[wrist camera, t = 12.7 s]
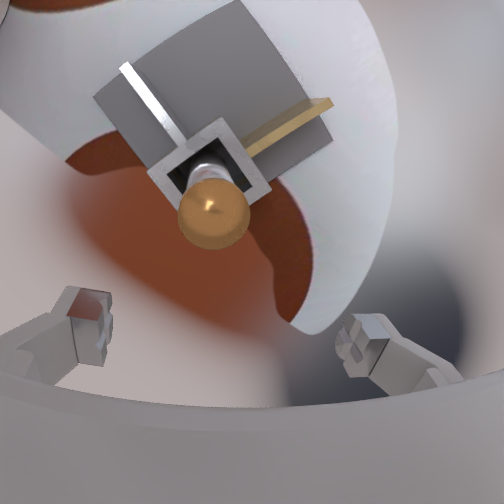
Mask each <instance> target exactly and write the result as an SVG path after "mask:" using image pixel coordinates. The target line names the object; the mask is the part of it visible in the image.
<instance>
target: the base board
mask: <svg viewBox="0 0 504 504" xmlns="http://www.w3.org/2000/svg"><path fill="white" fill-rule="evenodd" d="M132 65H133V66H135V67H136V68H138V69H139V70H141V71H142V72H143V73H144V74H145V76H146V77H147V78H148V80H149V81H150V82H151V84H152V85H153V86H154V88H155V89H156V90H157V92H158V93H159V94H160V96H161V97H162V98H163V100H164V101H165V102H166V104H167V105H168V106H169V107H170V109H171V110H172V111H173V113H174V114H175V116H176V117H177V118H178V120H179V121H180V122H181V124H182V125H183V126H184V128H185V129H186V130H187V132H188V133H189V134H190V135H191V134H192V133H194V132H195V131H196V130H198V129H199V128H201V127H202V126H204V125H205V124H206V123H208V122H209V121H211V120H212V119H214V118H215V117H217V116H221V117H222V118H223V119H224V120H225V122H226V123H227V125H228V126H229V128H230V129H231V130H232V132H233V133H234V135H235V136H236V138H237V139H238V140H240V139H241V138H243V137H244V136H246V135H247V134H249V133H250V132H252V131H253V130H255V129H257V128H258V127H260V126H261V125H263V124H264V123H266V122H267V121H269V120H271V119H272V118H274V117H275V116H277V115H279V114H280V113H282V112H284V111H285V110H287V109H288V108H290V107H292V106H293V105H295V104H297V103H299V102H300V101H302V100H304V99H309V98H308V96H307V94H306V93H305V91H304V90H303V88H302V86H301V85H300V83H299V82H298V80H297V79H296V77H295V76H294V74H293V72H292V71H291V69H290V68H289V66H288V65H287V63H286V62H285V61H284V59H283V58H282V56H281V55H280V53H279V52H278V50H277V49H276V47H275V46H274V45H273V43H272V42H271V40H270V39H269V38H268V36H267V35H266V34H265V32H264V31H263V29H262V28H261V27H260V25H259V24H258V23H257V21H256V20H255V19H254V17H253V16H252V15H251V14H250V12H249V11H248V10H247V8H246V7H245V6H244V5H243V3H242V2H241V1H240V0H234V1H232V2H231V3H229V4H227V5H225V6H223V7H221V8H219V9H217V10H215V11H213V12H212V13H210V14H208V15H206V16H205V17H203V18H201V19H199V20H198V21H196V22H194V23H193V24H191V25H189V26H188V27H186V28H184V29H183V30H181V31H180V32H178V33H176V34H175V35H173V36H172V37H170V38H169V39H167V40H166V41H164V42H163V43H161V44H160V45H158V46H157V47H155V48H154V49H153V50H151V51H150V52H148V53H147V54H146V55H144V56H143V57H141V58H140V59H139V60H137V61H136V62H135V63H133V64H132ZM93 98H94V99H95V101H96V102H97V103H98V105H99V106H100V107H101V109H102V110H103V111H104V113H105V114H106V115H107V117H108V118H109V119H110V121H111V122H112V123H113V125H114V126H115V127H116V128H117V130H118V131H119V132H120V134H121V135H122V136H123V138H124V139H125V140H126V142H127V143H128V144H129V145H130V147H131V148H132V149H133V151H134V152H135V153H136V155H137V156H138V157H139V158H140V160H141V161H142V162H143V164H144V165H145V166H146V167H147V169H149V168H150V167H151V166H152V165H153V164H154V163H155V162H156V160H157V159H159V158H160V157H161V156H163V155H164V154H165V153H166V152H168V151H169V150H170V149H172V148H173V147H174V146H176V145H177V144H176V143H175V142H174V140H173V139H172V138H171V136H170V135H169V134H168V132H167V131H166V130H165V128H164V127H163V126H162V124H161V123H160V122H159V121H158V119H157V118H156V117H155V115H154V114H153V113H152V111H151V110H150V109H149V107H148V106H147V105H146V103H145V102H144V101H143V99H142V98H141V97H140V95H139V94H138V93H137V91H136V90H135V89H134V87H133V86H132V85H131V84H130V82H129V81H128V80H127V78H126V77H125V76H124V74H123V73H121V74H119V75H118V76H117V77H116V78H114V79H113V80H112V81H111V82H110V83H108V84H107V85H106V86H105V87H104V88H102V89H101V90H100V91H99V92H98V93H97V94H96V95H94V96H93ZM331 141H333V139H332V137H331V135H330V133H329V131H328V130H327V128H326V126H325V124H324V123H323V121H322V119H321V118H320V116H319V115H318V116H316V117H314V118H313V119H311V120H310V121H308V122H306V123H305V124H303V125H301V126H300V127H298V128H297V129H295V130H293V131H292V132H290V133H289V134H287V135H285V136H284V137H282V138H281V139H279V140H278V141H276V142H274V143H273V144H271V145H270V146H268V147H267V148H265V149H264V150H262V151H261V152H259V153H258V154H256V155H255V156H253V157H252V158H251V159H252V161H253V162H254V164H255V165H256V167H257V168H258V169H259V171H260V172H261V174H262V175H263V177H264V178H265V180H266V181H267V183H268V182H270V181H271V180H273V179H274V178H276V177H277V176H279V175H280V174H282V173H283V172H285V171H286V170H288V169H289V168H291V167H292V166H294V165H295V164H297V163H298V162H300V161H302V160H303V159H305V158H306V157H308V156H309V155H311V154H312V153H314V152H316V151H317V150H319V149H320V148H322V147H323V146H325V145H327V144H328V143H330V142H331ZM203 150H212V151H215V152H217V153H218V154H219V155H220V156H221V157H222V159H223V161H224V163H225V165H226V168H227V170H228V172H229V174H230V176H231V178H234V177H235V176H237V175H238V174H240V173H241V172H242V170H241V169H240V168H239V166H238V165H237V163H236V162H235V160H234V159H233V158H232V156H231V155H230V153H229V152H228V151H227V149H226V148H225V146H224V145H223V144H222V142H221V141H220V139H219V138H218V137H217V138H216V139H214V140H213V141H211V142H210V143H208V144H207V145H205V146H204V147H203V148H201V149H200V150H198V151H197V152H196V153H194V154H193V155H192V156H190V157H189V158H187V159H186V160H185V161H183V162H182V163H181V164H179V165H178V166H177V167H178V169H179V170H180V171H181V173H182V174H183V175H184V176H185V178H186V179H187V180H188V177H189V172H190V166H191V162H192V159H193V157H194V156H195V155H196V154H197V153H199V152H200V151H203Z"/></svg>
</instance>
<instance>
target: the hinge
mask: <svg viewBox="0 0 504 504" xmlns="http://www.w3.org/2000/svg"><path fill="white" fill-rule="evenodd" d="M119 69H120V70H121V72H122V73H123V74H124V76H125V77H126V78H127V80H128V81H129V82H130V84H131V85H132V86H133V87H134V89H135V90H136V91H137V93H138V94H139V95H140V97H141V98H142V99H143V101H144V102H145V103H146V105H147V106H148V107H149V109H150V110H151V111H152V113H153V114H154V115H155V117H156V118H157V119H158V121H159V122H160V123H161V124H162V126H163V127H164V128H165V130H166V131H167V132H168V134H169V135H170V136H171V138H172V139H173V140H174V142H175V143H176V144H177V145H176V146H174V147H173V148H172V149H170V150H169V151H168V152H166V153H165V154H164V155H163V156H161V157H160V158H159V159H157V160H156V162H155V163H154V164H153V165H152V166H151V167H150V168H149V169H148V171H147V174H148V175H149V176H150V177H151V179H152V180H153V181H154V182H155V184H156V185H157V186H158V188H159V189H160V190H161V191H162V193H163V194H164V195H165V196H166V198H167V199H168V200H169V201H170V203H171V204H172V205H173V206H174V208H175V209H176V210H177V211H178V209H179V204H180V201H181V198H182V196H183V194H184V193H185V191H186V189H187V183H188V180H187V179H186V178H185V176H184V175H183V174H182V173H181V171H180V170H179V169H178V167H177V166H178V165H179V164H181V163H182V162H183V161H185V160H186V159H187V158H189V157H190V156H192V155H193V154H194V153H196V152H197V151H198V150H200V149H201V148H203V147H204V146H205V145H207V144H208V143H210V142H211V141H213V140H214V139H216V138H217V137H218V138H219V139H220V141H221V142H222V144H223V145H224V146H225V148H226V149H227V151H228V152H229V153H230V155H231V156H232V158H233V159H234V160H235V162H236V163H237V165H238V166H239V168H240V169H241V170H242V172H241V173H240V174H238V175H237V176H235V177H234V178H232V180H233V183H234V184H235V185H236V186H238V187H239V188H240V190H241V191H242V192H243V194H244V195H245V197H246V199H247V202H248V204H249V205H251V204H252V203H254V202H255V201H257V200H258V199H260V198H261V197H262V196H264V195H265V194H267V193H268V192H270V191H271V190H272V189H271V187H270V186H269V184H268V183H267V181H266V180H265V178H264V177H263V175H262V174H261V172H260V171H259V169H258V168H257V167H256V165H255V164H254V162H253V161H252V159H251V158H252V157H253V156H255V155H256V154H258V153H259V152H261V151H262V150H264V149H265V148H267V147H268V146H270V145H271V144H273V143H274V142H276V141H278V140H279V139H281V138H282V137H284V136H285V135H287V134H289V133H290V132H292V131H293V130H295V129H297V128H298V127H300V126H301V125H303V124H305V123H306V122H308V121H310V120H311V119H313V118H314V117H316V116H318V115H319V114H321V113H323V112H324V111H326V110H328V109H330V108H331V107H333V106H334V105H333V103H332V101H331V100H330V98H329V97H327V98H312V99H304V100H302V101H300V102H299V103H297V104H295V105H293V106H292V107H290V108H288V109H287V110H285V111H284V112H282V113H280V114H279V115H277V116H275V117H274V118H272V119H271V120H269V121H267V122H266V123H264V124H263V125H261V126H260V127H258V128H257V129H255V130H253V131H252V132H250V133H249V134H247V135H246V136H244V137H243V138H241V139H240V140H238V139H237V138H236V136H235V135H234V133H233V132H232V130H231V129H230V128H229V126H228V125H227V123H226V122H225V120H224V119H223V118H222V117H221V116H217V117H215V118H214V119H212V120H211V121H209V122H208V123H206V124H205V125H204V126H202V127H201V128H199V129H198V130H196V131H195V132H194V133H192V134H191V135H190V134H189V133H188V132H187V130H186V129H185V128H184V126H183V125H182V124H181V122H180V121H179V120H178V118H177V117H176V116H175V114H174V113H173V111H172V110H171V109H170V107H169V106H168V105H167V104H166V102H165V101H164V100H163V98H162V97H161V96H160V94H159V93H158V92H157V90H156V89H155V88H154V86H153V85H152V84H151V82H150V81H149V80H148V78H147V77H146V76H145V74H144V73H143V72H142V71H141V70H139V69H138V68H136V67H135V66H133V65H132V64H130V63H129V62H126V63H125V64H124V65H122V66H121V67H120V68H119Z"/></svg>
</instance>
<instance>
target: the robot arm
mask: <svg viewBox="0 0 504 504" xmlns="http://www.w3.org/2000/svg"><path fill="white" fill-rule="evenodd" d="M9 1H10V0H0V25H1V23H2V21H3V19H4V17H5V14H6V12H7V9H8V5H9ZM111 306H112V295H111V293H110V292H104V291H98V290H92V289H86V288H80V287H74V286H67V287H66V288H65V289H64V291H63V293H62V294H61V296H60V298H59V299H58V301H57V303H56V304H55V306H54V307H53V309H52V311H51V313H44V314H42V315H40V316H38V317H36V318H34V319H32V320H30V321H28V322H27V323H24V324H22V325H20V326H19V327H16V328H14V329H12V330H10V331H8V332H7V333H5V334H3V335H1V336H0V504H504V369H501V370H499V371H495V372H492V373H489V374H486V375H482V376H479V377H475V378H472V379H468V380H464V379H463V377H462V376H461V375H460V374H459V372H458V371H457V370H456V369H455V368H454V366H453V365H452V364H451V363H449V362H447V361H446V360H444V359H442V358H440V357H438V356H437V355H435V354H433V353H431V352H430V351H428V350H426V349H424V348H423V347H421V346H419V345H417V344H416V343H414V342H412V341H410V340H409V339H407V338H403V337H402V336H401V335H400V333H399V332H398V331H397V330H396V329H395V327H394V326H393V325H392V323H391V322H390V321H389V320H388V318H387V317H386V316H385V315H383V314H348V315H347V316H346V317H345V319H344V321H343V325H344V328H343V329H342V330H341V331H340V332H339V333H338V335H337V338H336V343H335V348H336V352H337V354H338V356H339V357H340V358H341V359H343V360H344V364H343V366H344V367H345V369H346V371H347V373H348V375H349V377H366V376H369V378H370V379H371V380H372V381H374V382H375V383H376V384H377V385H378V386H380V387H381V388H382V389H383V390H384V391H385V392H387V393H388V394H389V395H390V397H383V398H377V399H370V400H362V401H354V402H346V403H335V404H324V405H311V406H295V407H269V408H225V407H200V406H183V405H172V404H160V403H151V402H142V401H135V400H127V399H120V398H114V397H107V396H101V395H95V394H90V393H85V392H80V391H75V390H70V389H66V388H61V387H57V386H54V385H55V384H56V383H57V382H58V381H60V380H61V379H62V378H63V377H64V376H65V375H67V374H68V373H69V372H70V371H71V370H72V369H74V368H75V367H76V366H77V365H78V363H81V364H87V365H94V366H101V367H103V366H104V362H105V358H106V355H107V344H109V343H110V341H111V337H112V330H113V316H112V314H111V313H110V309H111Z"/></svg>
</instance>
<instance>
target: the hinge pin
mask: <svg viewBox="0 0 504 504" xmlns="http://www.w3.org/2000/svg"><path fill="white" fill-rule="evenodd" d="M249 222H250V208H249V204H248V202H247V199H246V197H245V195H244V194H243V192H242V191H241V190H240V188H239V187H238V186H236V185H235V184H234V183H233V180H232V178H231V176H230V174H229V172H228V170H227V168H226V165H225V163H224V161H223V159H222V157H221V156H220V155H219V154H218V153H217V152H215V151H212V150H203V151H200V152H199V153H197V154H196V155H195V156H194V157H193V159H192V162H191V166H190V172H189V177H188V183H187V189H186V191H185V193H184V194H183V196H182V198H181V201H180V204H179V209H178V224H179V227H180V229H181V231H182V233H183V235H184V236H185V237H186V238H187V239H188V241H190V242H191V243H192V244H194V245H195V246H198V247H200V248H204V249H208V250H218V249H223V248H226V247H229V246H231V245H233V244H234V243H236V242H237V241H238V240H239V239H240V238H241V237H242V236H243V235H244V233H245V232H246V230H247V228H248V225H249Z"/></svg>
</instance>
